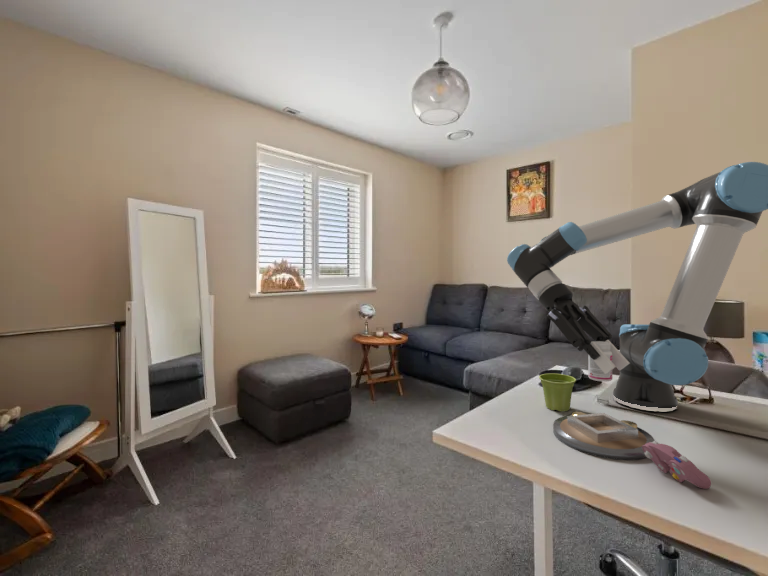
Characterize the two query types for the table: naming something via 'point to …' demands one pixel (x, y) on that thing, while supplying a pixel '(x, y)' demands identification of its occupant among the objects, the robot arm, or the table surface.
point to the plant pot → (557, 390)
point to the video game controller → (675, 464)
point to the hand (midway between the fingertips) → (617, 368)
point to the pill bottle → (594, 369)
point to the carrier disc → (602, 435)
